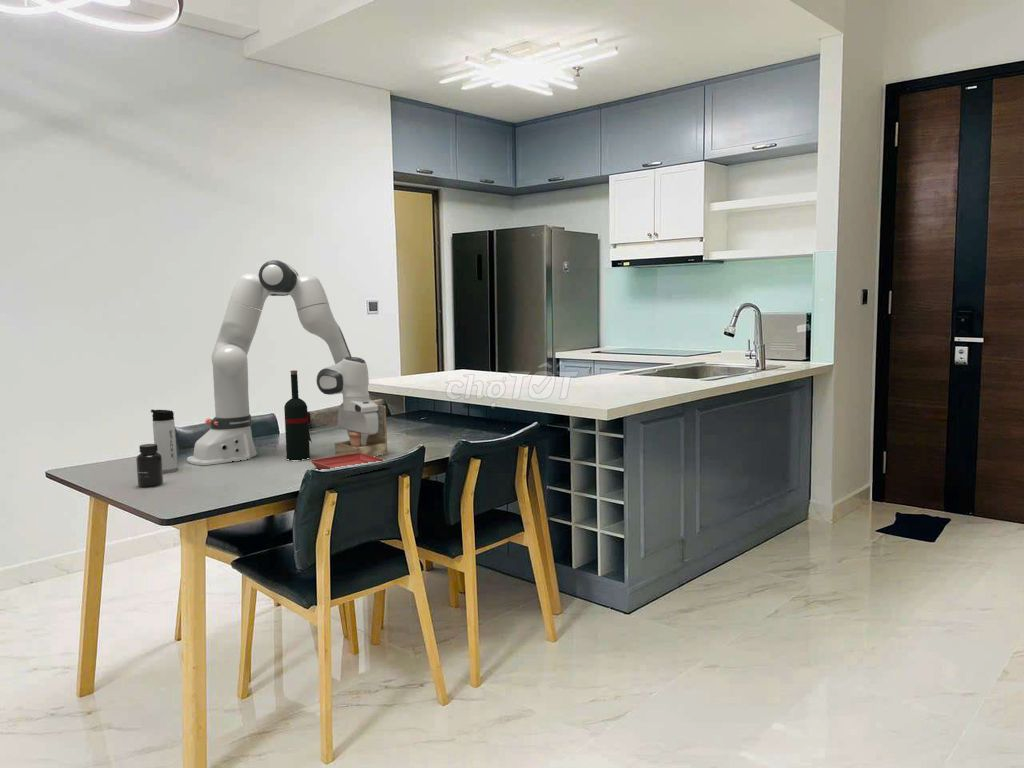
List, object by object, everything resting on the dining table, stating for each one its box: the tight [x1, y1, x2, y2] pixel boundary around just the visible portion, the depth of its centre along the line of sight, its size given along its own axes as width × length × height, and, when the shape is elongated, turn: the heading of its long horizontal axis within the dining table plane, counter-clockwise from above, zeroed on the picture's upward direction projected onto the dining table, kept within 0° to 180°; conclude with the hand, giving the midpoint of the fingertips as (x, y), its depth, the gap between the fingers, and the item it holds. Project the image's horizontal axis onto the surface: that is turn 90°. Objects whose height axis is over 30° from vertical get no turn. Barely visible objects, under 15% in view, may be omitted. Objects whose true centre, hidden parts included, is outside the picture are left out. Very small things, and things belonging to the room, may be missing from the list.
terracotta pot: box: [348, 431, 365, 448], centre depth 263 cm, size 6×6×8 cm
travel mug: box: [150, 409, 179, 474], centre depth 243 cm, size 6×7×20 cm
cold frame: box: [334, 404, 388, 457], centre depth 264 cm, size 12×14×17 cm
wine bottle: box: [284, 370, 313, 460], centre depth 259 cm, size 8×10×30 cm
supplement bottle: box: [136, 443, 164, 488], centre depth 226 cm, size 7×7×12 cm
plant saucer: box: [310, 453, 385, 470], centre depth 243 cm, size 18×18×3 cm
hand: (358, 444), depth 263 cm, fingers closed on terracotta pot, 5 cm apart
